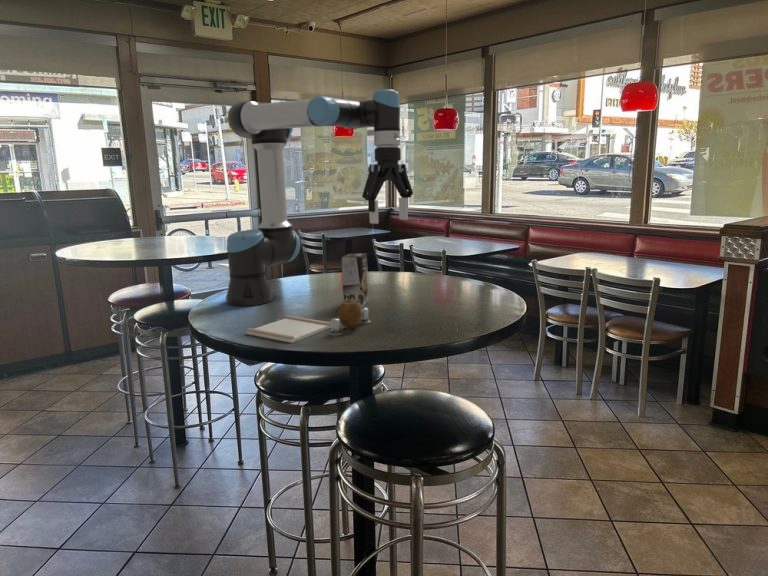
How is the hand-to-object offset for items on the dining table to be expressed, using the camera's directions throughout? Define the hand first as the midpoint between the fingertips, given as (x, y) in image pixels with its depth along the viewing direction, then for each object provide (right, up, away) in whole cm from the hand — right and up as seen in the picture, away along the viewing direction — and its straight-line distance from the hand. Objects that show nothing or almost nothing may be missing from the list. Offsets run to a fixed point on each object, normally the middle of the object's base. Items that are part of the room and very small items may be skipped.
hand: (389, 221), depth 163 cm
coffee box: (-10, -25, +15) cm, 31 cm away
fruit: (-11, -31, -12) cm, 35 cm away
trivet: (-27, -31, -13) cm, 43 cm away
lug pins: (-11, -30, -12) cm, 35 cm away
